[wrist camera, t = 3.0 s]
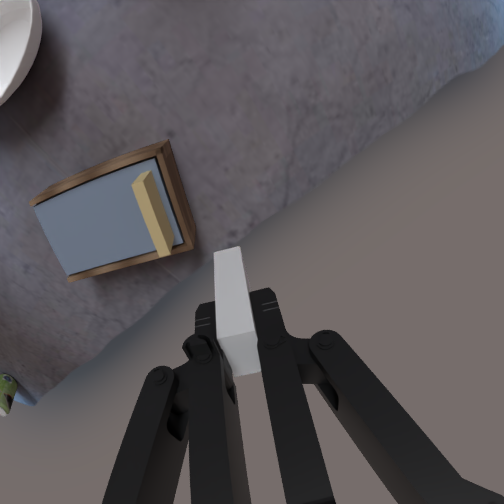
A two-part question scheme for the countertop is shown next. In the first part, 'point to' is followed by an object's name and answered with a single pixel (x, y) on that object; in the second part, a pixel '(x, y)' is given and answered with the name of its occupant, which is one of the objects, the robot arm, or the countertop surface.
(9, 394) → the beverage can
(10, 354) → the countertop surface
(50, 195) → the box
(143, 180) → the lid
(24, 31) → the bowl
